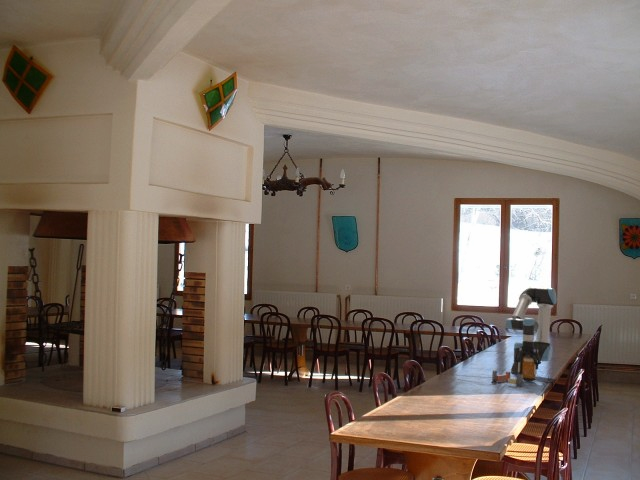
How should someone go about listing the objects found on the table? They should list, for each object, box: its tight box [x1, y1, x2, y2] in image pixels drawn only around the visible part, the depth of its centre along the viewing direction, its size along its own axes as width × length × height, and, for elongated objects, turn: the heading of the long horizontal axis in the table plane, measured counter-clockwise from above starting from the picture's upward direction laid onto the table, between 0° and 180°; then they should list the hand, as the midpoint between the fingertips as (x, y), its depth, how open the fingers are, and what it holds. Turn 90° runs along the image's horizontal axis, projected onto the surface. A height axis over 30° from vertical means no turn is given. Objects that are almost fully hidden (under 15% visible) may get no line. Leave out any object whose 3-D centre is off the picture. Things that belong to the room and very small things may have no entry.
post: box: [490, 370, 498, 384], centre depth 470 cm, size 4×4×8 cm
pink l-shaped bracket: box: [497, 371, 512, 383], centre depth 476 cm, size 2×13×6 cm, turn 127°
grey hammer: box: [507, 374, 524, 388], centre depth 461 cm, size 4×8×8 cm, turn 52°
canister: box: [519, 351, 537, 382], centre depth 479 cm, size 9×11×20 cm
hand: (527, 373), depth 479 cm, fingers closed on canister, 11 cm apart
